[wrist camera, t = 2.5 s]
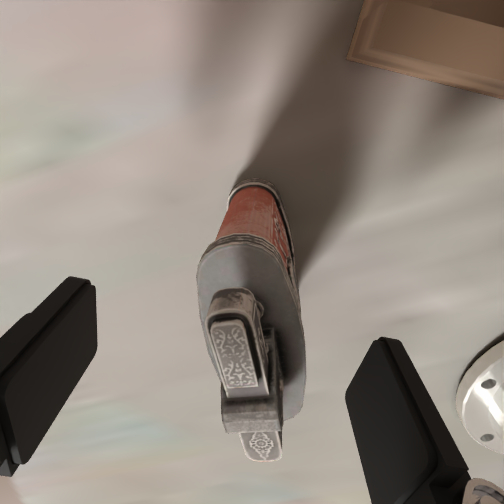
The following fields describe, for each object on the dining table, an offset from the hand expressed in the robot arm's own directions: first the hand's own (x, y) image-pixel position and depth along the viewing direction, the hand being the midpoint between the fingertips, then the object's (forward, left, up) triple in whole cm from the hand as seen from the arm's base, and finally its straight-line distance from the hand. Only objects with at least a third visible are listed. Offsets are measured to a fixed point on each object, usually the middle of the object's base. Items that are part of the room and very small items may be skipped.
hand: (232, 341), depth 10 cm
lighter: (-1, 0, -8) cm, 8 cm away
